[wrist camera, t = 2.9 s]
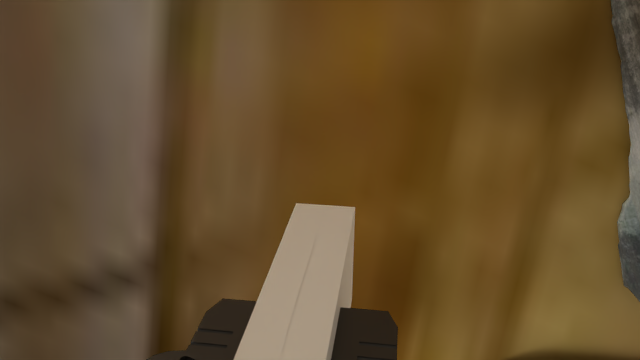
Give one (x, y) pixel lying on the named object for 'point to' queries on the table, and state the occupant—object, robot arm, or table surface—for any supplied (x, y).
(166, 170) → the table surface
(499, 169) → the table surface
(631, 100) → the stone block
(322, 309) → the robot arm
